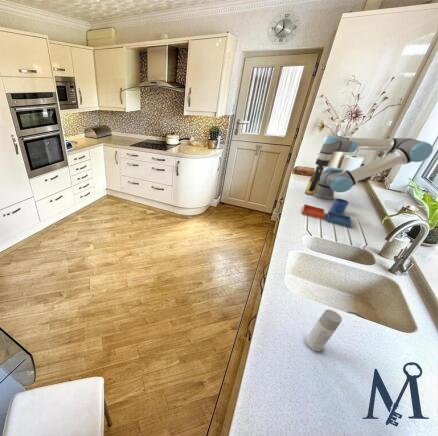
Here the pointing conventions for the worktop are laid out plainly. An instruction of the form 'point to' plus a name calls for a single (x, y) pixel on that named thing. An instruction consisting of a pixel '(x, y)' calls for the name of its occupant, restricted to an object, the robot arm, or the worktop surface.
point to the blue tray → (339, 219)
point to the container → (323, 330)
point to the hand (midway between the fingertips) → (310, 189)
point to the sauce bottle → (310, 185)
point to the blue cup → (339, 206)
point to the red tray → (313, 211)
